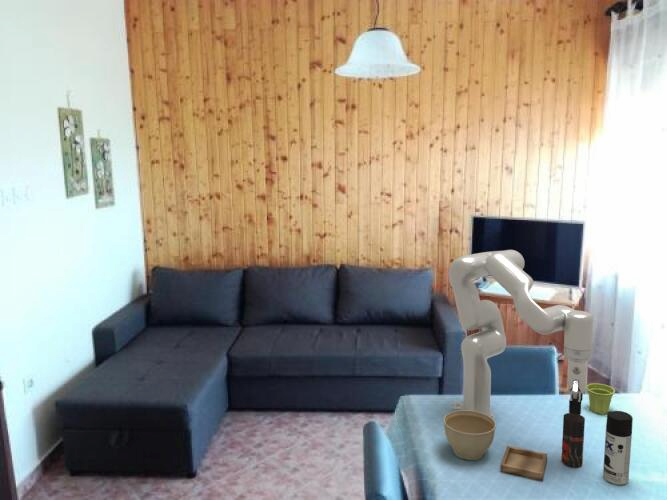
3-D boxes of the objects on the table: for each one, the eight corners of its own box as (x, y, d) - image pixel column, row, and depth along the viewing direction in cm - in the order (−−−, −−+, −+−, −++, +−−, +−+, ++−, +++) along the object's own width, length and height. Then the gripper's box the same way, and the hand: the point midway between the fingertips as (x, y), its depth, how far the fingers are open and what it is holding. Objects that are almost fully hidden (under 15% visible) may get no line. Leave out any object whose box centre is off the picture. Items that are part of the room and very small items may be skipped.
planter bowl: (494, 470, 165) (495, 436, 163) (441, 462, 169) (441, 430, 167) (495, 443, 180) (496, 412, 178) (446, 437, 184) (446, 407, 183)
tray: (500, 471, 163) (500, 464, 163) (507, 452, 174) (507, 445, 174) (542, 481, 158) (543, 474, 158) (546, 460, 169) (547, 453, 168)
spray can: (598, 473, 161) (601, 410, 158) (619, 471, 162) (624, 409, 159) (611, 486, 155) (615, 421, 151) (633, 484, 155) (638, 419, 152)
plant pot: (619, 414, 197) (620, 392, 195) (597, 418, 195) (598, 395, 193) (601, 403, 206) (602, 382, 204) (579, 406, 204) (580, 385, 202)
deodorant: (584, 468, 164) (587, 422, 161) (563, 467, 165) (565, 421, 162) (579, 458, 169) (582, 413, 167) (559, 456, 171) (561, 412, 168)
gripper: (590, 364, 152) (588, 421, 155) (592, 345, 167) (590, 397, 170) (561, 360, 155) (560, 416, 158) (566, 342, 170) (564, 393, 173)
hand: (575, 406), depth 164 cm, fingers open, 9 cm apart
